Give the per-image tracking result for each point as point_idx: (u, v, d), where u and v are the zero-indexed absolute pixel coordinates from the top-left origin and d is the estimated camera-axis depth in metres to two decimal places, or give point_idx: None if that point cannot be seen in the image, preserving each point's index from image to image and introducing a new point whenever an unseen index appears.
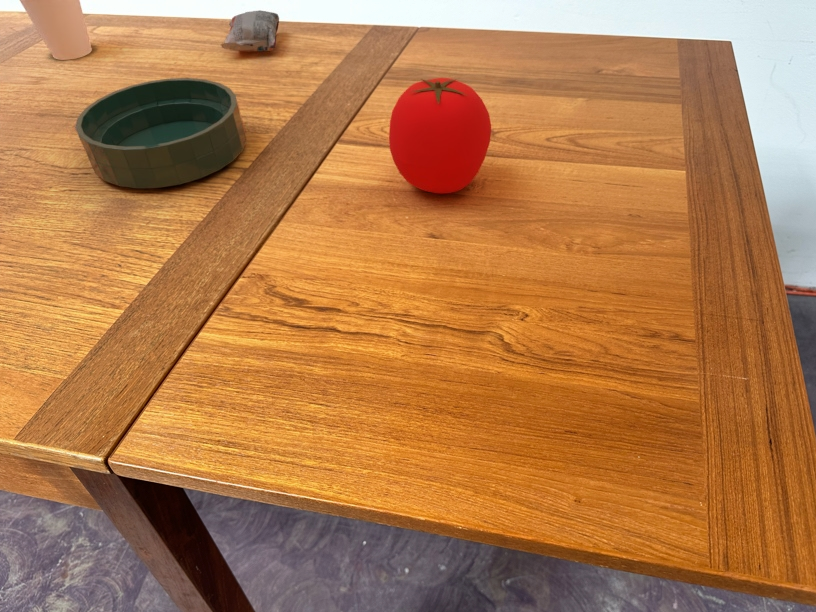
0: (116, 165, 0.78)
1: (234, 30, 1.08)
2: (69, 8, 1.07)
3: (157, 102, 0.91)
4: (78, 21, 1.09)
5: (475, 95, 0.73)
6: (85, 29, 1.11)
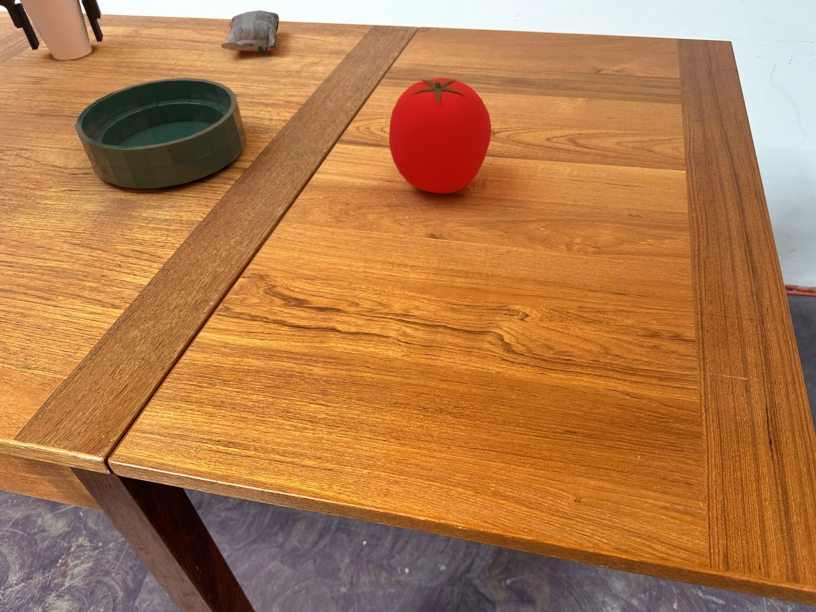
0: (116, 165, 0.78)
1: (234, 30, 1.08)
2: (69, 8, 1.07)
3: (157, 102, 0.91)
4: (78, 21, 1.09)
5: (475, 95, 0.73)
6: (85, 29, 1.11)
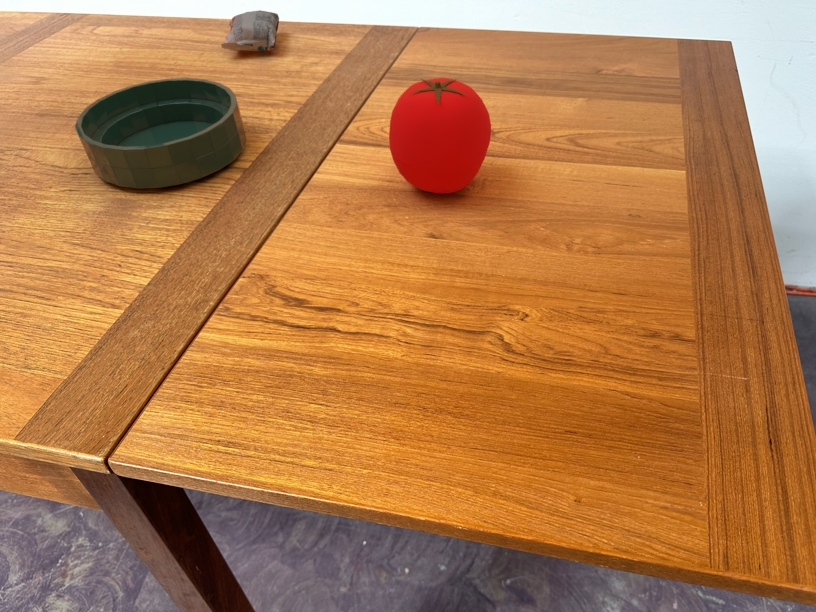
0: (116, 165, 0.78)
1: (234, 30, 1.08)
2: None
3: (157, 102, 0.91)
4: None
5: (475, 95, 0.73)
6: None
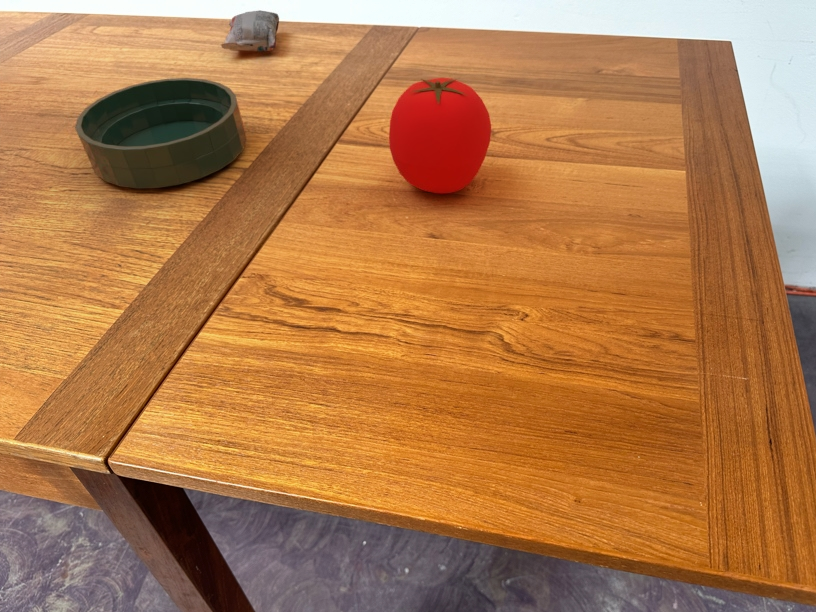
0: (116, 165, 0.78)
1: (234, 30, 1.08)
2: None
3: (157, 102, 0.91)
4: None
5: (475, 95, 0.73)
6: None
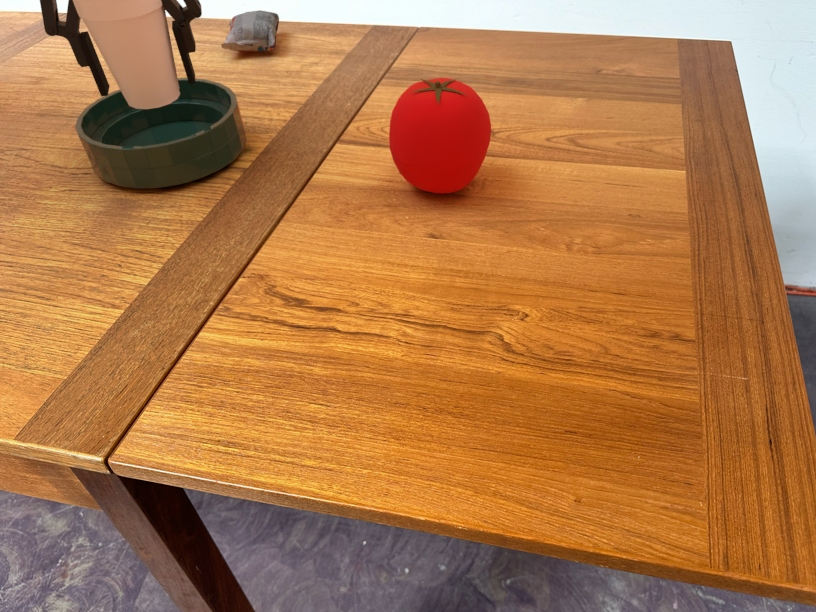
0: (116, 165, 0.78)
1: (234, 30, 1.08)
2: (156, 39, 0.75)
3: None
4: (166, 56, 0.78)
5: (475, 95, 0.73)
6: (173, 67, 0.80)
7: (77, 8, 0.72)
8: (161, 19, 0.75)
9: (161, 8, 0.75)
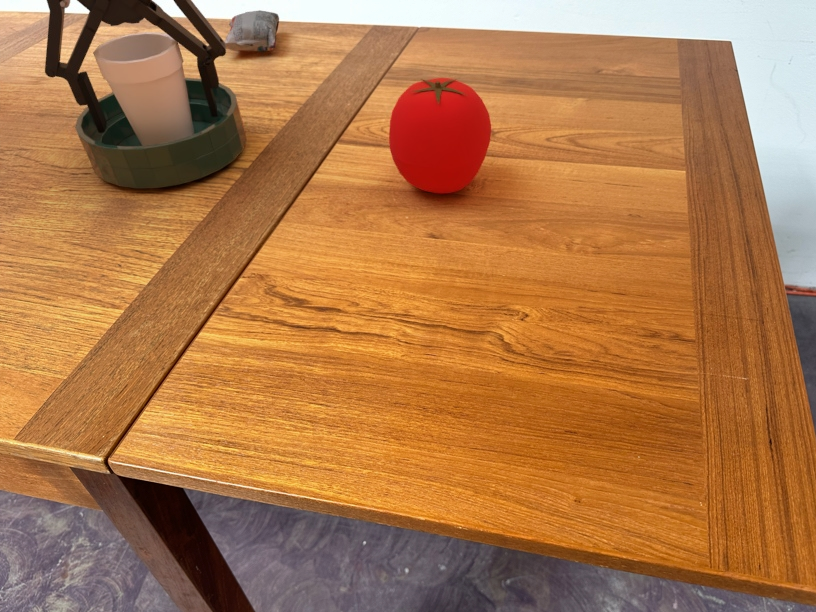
0: (116, 165, 0.78)
1: (234, 30, 1.08)
2: (175, 97, 0.80)
3: None
4: (184, 112, 0.82)
5: (475, 95, 0.73)
6: (190, 120, 0.85)
7: (102, 71, 0.76)
8: (180, 79, 0.80)
9: (180, 69, 0.80)
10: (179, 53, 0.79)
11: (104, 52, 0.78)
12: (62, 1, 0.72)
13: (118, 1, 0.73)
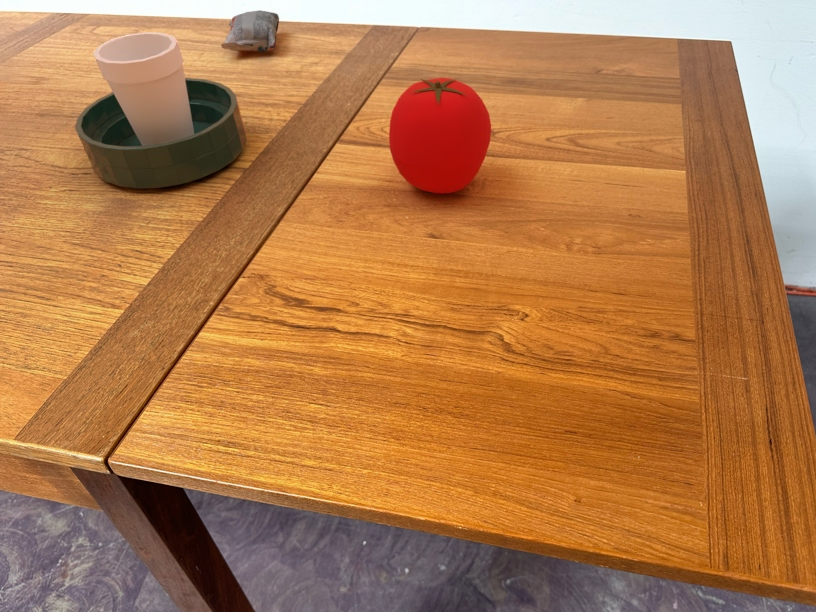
0: (116, 165, 0.78)
1: (234, 30, 1.08)
2: (175, 97, 0.80)
3: None
4: (184, 112, 0.82)
5: (475, 95, 0.73)
6: (190, 120, 0.85)
7: (102, 71, 0.76)
8: (180, 79, 0.80)
9: (180, 69, 0.80)
10: (179, 53, 0.79)
11: (104, 52, 0.78)
12: None
13: None
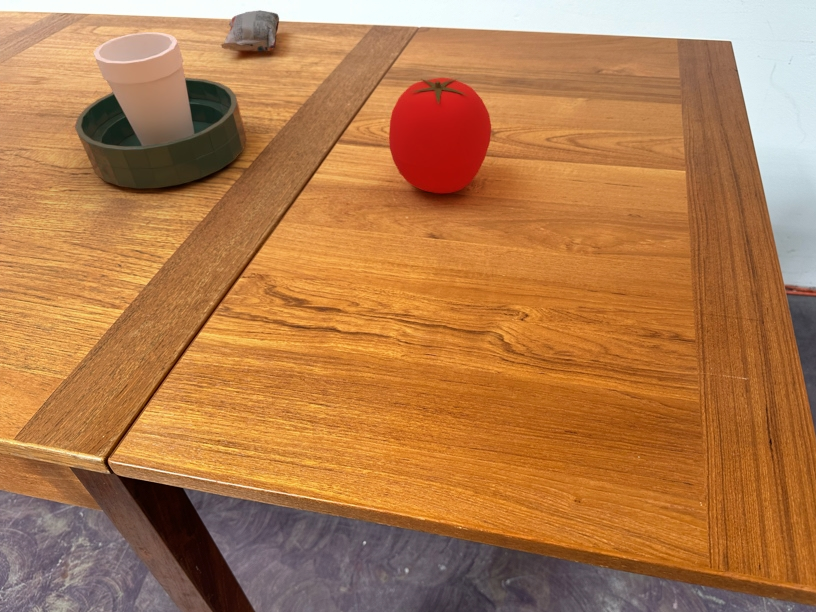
0: (116, 165, 0.78)
1: (234, 30, 1.08)
2: (175, 97, 0.80)
3: None
4: (184, 112, 0.82)
5: (475, 95, 0.73)
6: (190, 120, 0.85)
7: (102, 71, 0.76)
8: (180, 79, 0.80)
9: (180, 69, 0.80)
10: (179, 53, 0.79)
11: (104, 52, 0.78)
12: None
13: None
